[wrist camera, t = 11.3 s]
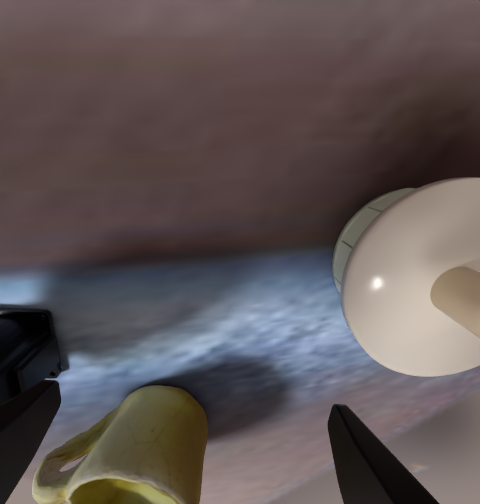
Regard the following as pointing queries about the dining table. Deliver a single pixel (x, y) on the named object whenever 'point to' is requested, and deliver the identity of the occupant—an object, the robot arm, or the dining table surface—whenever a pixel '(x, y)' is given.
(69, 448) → the mug
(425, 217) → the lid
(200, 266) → the dining table surface
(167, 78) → the dining table surface
